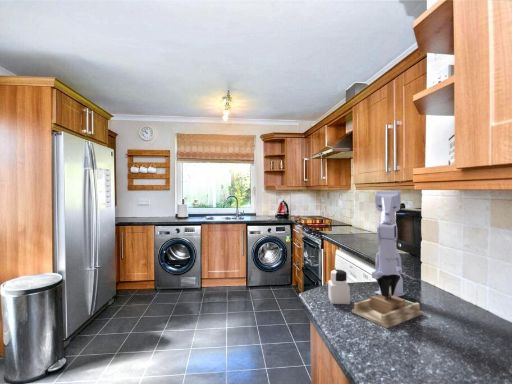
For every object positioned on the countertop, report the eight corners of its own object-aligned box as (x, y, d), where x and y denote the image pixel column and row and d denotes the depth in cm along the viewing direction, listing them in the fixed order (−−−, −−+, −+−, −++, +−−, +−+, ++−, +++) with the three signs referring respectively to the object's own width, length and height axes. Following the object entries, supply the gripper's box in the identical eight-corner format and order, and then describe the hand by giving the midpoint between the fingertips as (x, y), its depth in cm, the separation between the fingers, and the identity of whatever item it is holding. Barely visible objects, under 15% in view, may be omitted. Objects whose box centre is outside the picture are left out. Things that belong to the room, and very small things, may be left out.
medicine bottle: (345, 297, 114) (345, 268, 114) (350, 304, 107) (349, 273, 107) (328, 297, 115) (328, 268, 115) (331, 304, 108) (331, 273, 108)
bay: (386, 300, 110) (386, 292, 110) (422, 314, 98) (422, 304, 98) (351, 312, 100) (351, 302, 100) (387, 328, 88) (386, 317, 88)
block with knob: (384, 303, 105) (384, 280, 105) (405, 311, 98) (405, 286, 98) (370, 307, 101) (370, 284, 101) (391, 316, 94) (390, 290, 94)
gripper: (384, 262, 93) (384, 303, 93) (410, 257, 100) (410, 295, 100) (366, 258, 99) (367, 296, 99) (392, 253, 106) (392, 289, 106)
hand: (387, 295), depth 100 cm, fingers closed on block with knob, 2 cm apart
